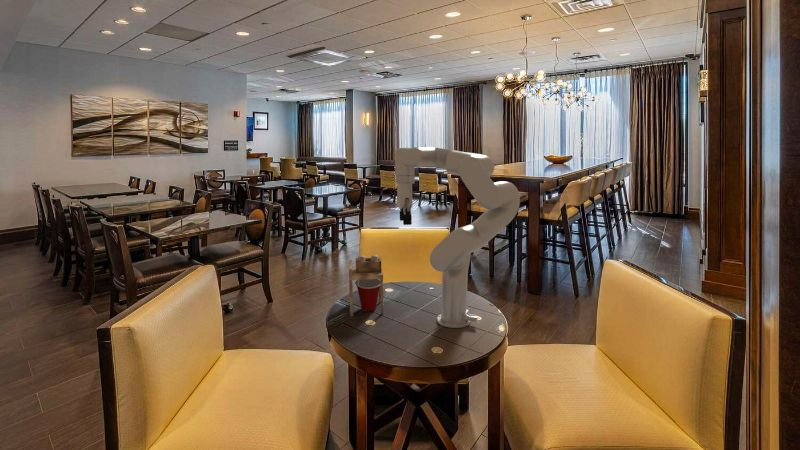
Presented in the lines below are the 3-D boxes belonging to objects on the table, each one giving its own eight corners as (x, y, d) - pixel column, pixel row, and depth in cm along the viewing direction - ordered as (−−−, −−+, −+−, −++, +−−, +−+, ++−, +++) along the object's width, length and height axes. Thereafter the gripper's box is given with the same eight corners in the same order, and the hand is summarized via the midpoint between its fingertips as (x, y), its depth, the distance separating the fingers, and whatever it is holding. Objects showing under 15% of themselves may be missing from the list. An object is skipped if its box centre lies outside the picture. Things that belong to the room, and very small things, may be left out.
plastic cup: (356, 315, 169) (356, 286, 167) (354, 305, 180) (354, 277, 178) (383, 313, 171) (383, 284, 169) (380, 303, 182) (380, 276, 179)
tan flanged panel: (381, 302, 183) (380, 258, 179) (383, 314, 170) (383, 267, 166) (350, 304, 181) (348, 259, 177) (350, 316, 168) (348, 268, 165)
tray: (380, 268, 176) (380, 253, 175) (381, 272, 170) (381, 257, 169) (355, 268, 175) (355, 254, 174) (356, 273, 169) (355, 258, 168)
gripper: (392, 178, 176) (393, 219, 179) (398, 181, 159) (399, 226, 162) (410, 177, 177) (411, 218, 180) (418, 181, 160) (418, 226, 163)
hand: (405, 222), depth 171 cm, fingers open, 9 cm apart
